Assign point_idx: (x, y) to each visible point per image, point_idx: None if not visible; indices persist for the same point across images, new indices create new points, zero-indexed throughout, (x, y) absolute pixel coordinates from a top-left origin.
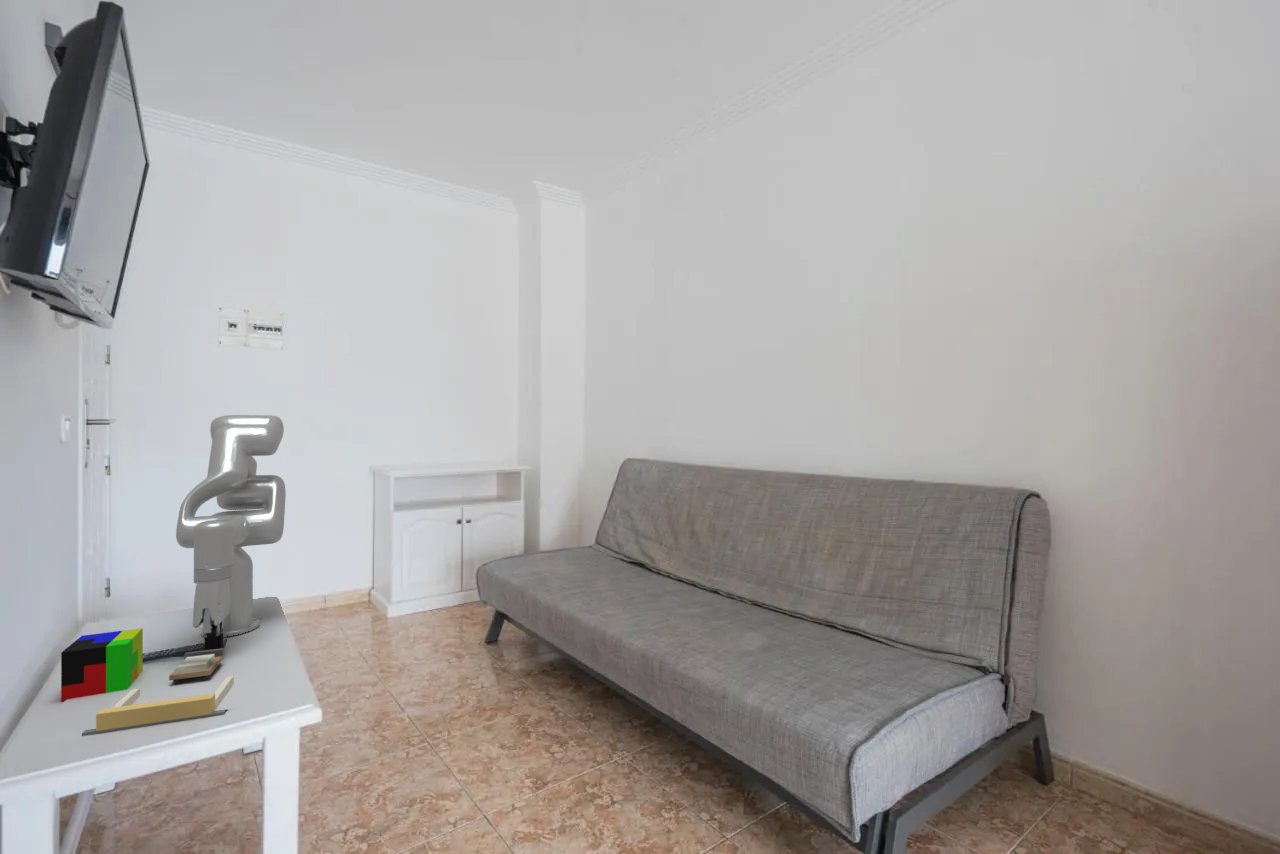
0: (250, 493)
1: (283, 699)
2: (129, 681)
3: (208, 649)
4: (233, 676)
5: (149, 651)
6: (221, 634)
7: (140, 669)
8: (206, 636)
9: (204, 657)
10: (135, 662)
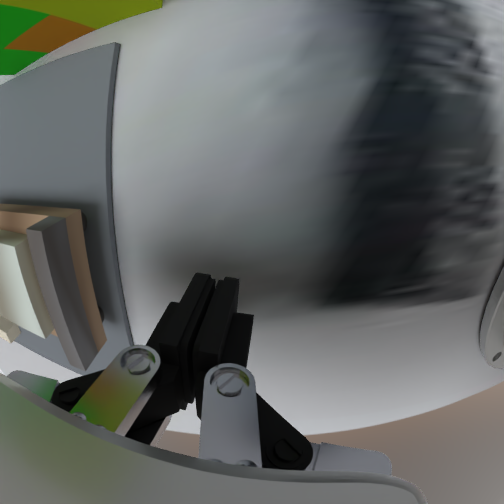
0: None
1: (10, 369)
2: (4, 66)
3: (170, 305)
4: (11, 342)
5: (478, 10)
6: (185, 409)
7: (116, 7)
8: (127, 359)
9: (18, 308)
10: (12, 28)
